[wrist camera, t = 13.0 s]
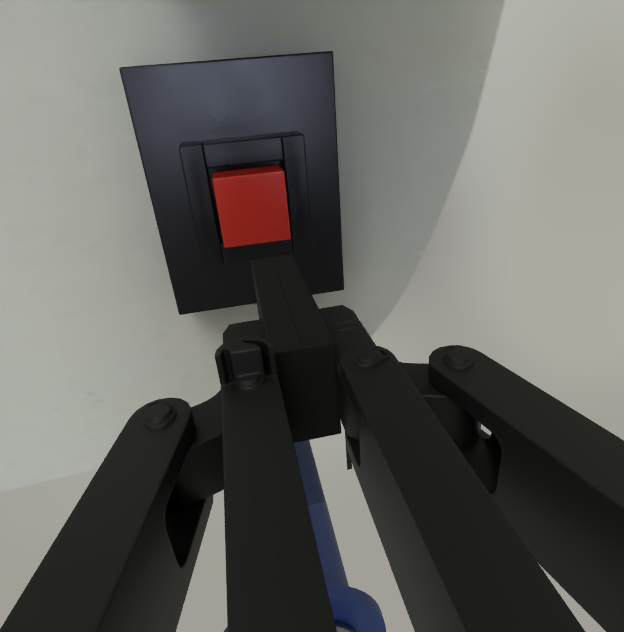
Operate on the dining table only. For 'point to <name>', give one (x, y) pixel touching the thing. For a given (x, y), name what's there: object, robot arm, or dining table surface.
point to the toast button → (252, 205)
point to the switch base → (238, 166)
